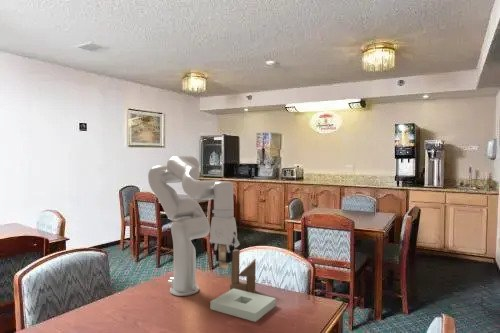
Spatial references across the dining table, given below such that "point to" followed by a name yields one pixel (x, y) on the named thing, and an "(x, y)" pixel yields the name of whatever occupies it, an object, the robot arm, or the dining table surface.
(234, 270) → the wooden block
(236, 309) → the board
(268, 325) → the dining table surface
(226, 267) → the peg
